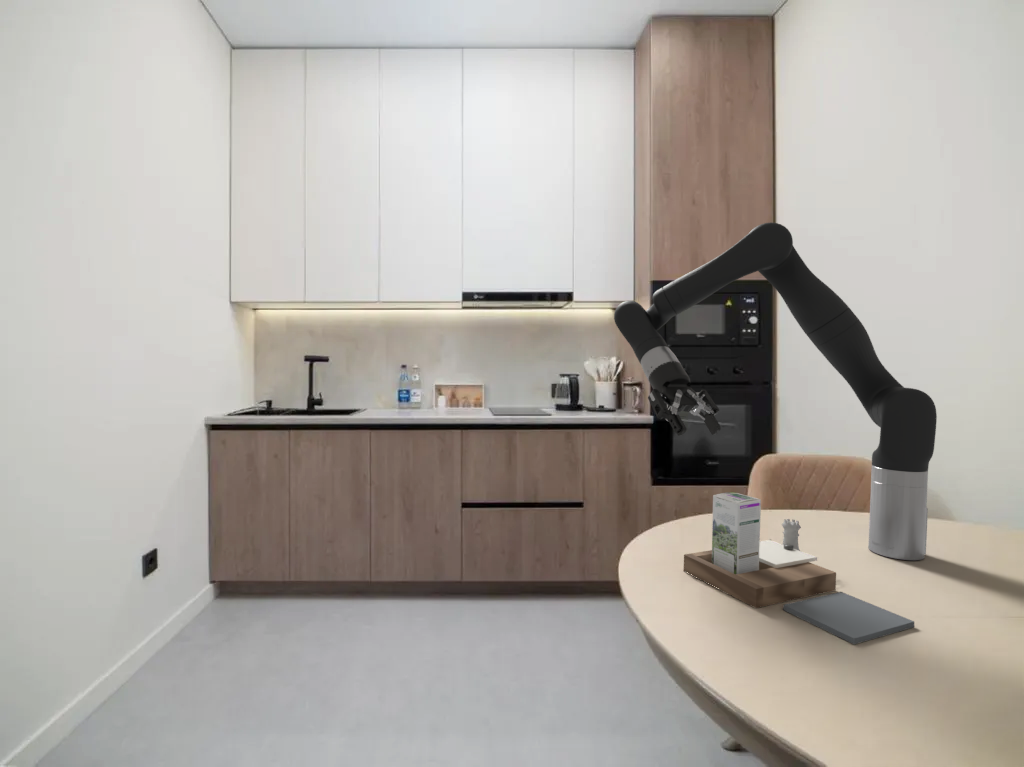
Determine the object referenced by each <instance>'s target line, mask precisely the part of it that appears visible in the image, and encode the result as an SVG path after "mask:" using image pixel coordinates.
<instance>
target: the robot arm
mask: <svg viewBox="0 0 1024 767" xmlns="http://www.w3.org/2000/svg"><path fill="white" fill-rule="evenodd" d="M793 244H794V241H793V236H792V233H791V231H789V229H788V228H787V227H786V226H785V225H783V224H780V223H778V222H777V223H776V222H770V221H769V222H764V223H761V224H758V225H756V226H755V227H753V228H752V229H751V230H750V231H749V232H748V234H746V235H744V237H742V238H741V239H740V240H739V241H738V242H736V243H735V244H733V246H731V247H729V249H727V250H725V251H724V252H722V253H721V254H719V255H717V256H716V257H714V258H713V259H711V260H710V261H708V262H706V263H704V264H702V265H700V266H699V267H697V268H695V269H694V270H693V269H692V270H691V271H690V272H688V273H686V274H683V275H682V276H680V277H677V278H676V279H674V280H672V281H671V282H669V283H668V284H666V285H664V286H663V287H661V288H658V289H657V290H656V291H654V293H653V294H652V296H651V297H652V304H651V305H650V306H649V308H647V309H645V308H644V307H643V306H642V305H641V304H640V303H639V302H637V301H634V300H626V301H625V300H624V301H623V302H621V303H619V304H618V306H616V308H615V309H614V310H615V311H614V314H613V320H614V323H615V325H616V328H617V329H618V330H619V332H620V333H621V335H622V336H623V338H624V339H625V340H626V342H627V343H628V345H630V346H631V349H632V351H633V352H634V354H635V357H636V358H637V360H638V362H639V364H640V366H641V369H642V371H643V373H644V375H645V377H646V378H647V381H648V383H649V385H650V386H651V387H652V389H653V390H651V392H650V393H649V395H648V396H647V399H648V401H649V404H650V405H651V407H652V410H653V413H654V414H655V416H656V418H657V419H659V420H662V419H664V420H666V421H667V422H669V425H670V426H671V428H672V429H673V432H675V433H676V435H677V436H684V434H685V433H686V432H687V430H688V429H687V427H686V424H685V423H684V421H683V419H682V418H681V416H680V415H679V414H677V413H681V412H685V413H690V414H691V415H693V416H694V417H695V416H697V417H699V418H700V419H702V420H703V423H704V425H705V426H706V427H707V429H708V430H709V433H710V434H711V435H713V436H715V435H717V434H718V433H719V432H720V431H721V425H720V423H719V421H718V420H717V417H715V416H716V415H717V414H718V413H719V412H720V409H719V407H718V405H717V404H716V403H715V401H714V399H712V397H711V395H710V394H709V393H708V391H707V390H706V389H701V390H700V391H697V392H696V391H695V390H694V389H693V388H692V387H691V378H690V376H689V375H688V373H687V372H686V370H685V368H684V367H683V365H682V363H681V362H680V361H679V358H677V355H675V353H674V352H673V351H672V350H671V349H670V347H669V345H668V344H667V342H666V340H665V339H664V338H663V336H662V335H661V334H660V333H659V332H658V331H659V330H660V329H661V328H663V326H665V325H666V324H667V323H668V322H669V321H670V320H671V319H672V318H673V317H675V316H677V315H679V314H681V313H683V312H685V311H686V310H688V309H691V308H692V307H694V306H695V305H697V304H699V303H700V302H702V301H704V300H705V299H707V298H708V297H710V296H712V295H713V294H714V293H716V292H718V291H719V290H722V288H724V287H726V286H727V285H729V284H731V283H733V282H736V281H737V280H739V279H741V278H744V277H746V276H749V275H751V274H754V273H756V272H758V273H760V274H761V276H763V277H764V279H765V280H766V281H768V283H769V284H770V285H771V286H772V287H773V288H774V289H775V291H777V292H778V294H779V295H780V297H781V298H782V300H783V302H784V303H785V304H786V307H787V308H788V310H789V311H790V313H791V315H792V316H793V317H794V319H795V321H796V322H797V324H798V326H799V327H800V328H801V329H802V331H803V332H804V334H805V335H806V336H807V337H808V338H809V340H810V341H811V342H812V344H813V345H814V346H815V348H817V350H818V351H819V352H820V353H821V354H822V356H823V357H825V359H826V360H827V362H828V363H829V364H830V366H832V367H833V368H834V369H835V370H836V371H837V372H838V374H840V375H841V377H842V378H843V379H844V380H845V381H846V382H847V384H848V385H849V386H850V388H851V390H852V391H853V392H854V394H855V396H856V397H857V398H858V400H859V402H860V403H861V405H862V406H863V409H864V410H865V411H866V413H867V414H868V416H869V418H870V419H871V421H872V422H873V423H874V424H875V425H876V426H877V427H879V428H880V433H879V443H878V446H877V448H876V449H874V451H873V452H872V454H871V474H870V475H871V477H870V501H869V522H868V523H869V524H868V526H869V527H868V547H867V548H868V549H869V551H870V552H873V553H875V554H878V555H881V556H883V557H887V558H891V559H896V560H897V559H898V560H904V561H921V560H923V559H925V555H927V538H928V537H927V536H928V519H929V518H928V516H929V515H928V514H929V511H928V510H929V508H928V507H927V506H928V505H927V504H928V503H927V502H928V484H929V482H928V479H929V465H930V461H931V459H932V458H933V454H934V451H935V444H936V433H937V418H938V416H937V414H938V413H937V408H936V405H935V402H934V401H933V399H932V397H930V395H929V394H928V393H926V392H925V391H922V390H920V389H917V388H911V387H904V386H903V385H902V384H901V383H900V382H899V381H898V380H897V379H896V378H895V377H894V376H893V375H892V373H890V372H889V370H888V369H887V368H886V367H885V365H883V364H882V362H881V361H880V359H879V357H878V354H877V353H876V350H875V348H874V345H873V342H872V340H871V337H870V336H869V333H868V331H867V329H866V328H865V326H864V324H863V323H862V322H861V320H860V319H859V318H858V316H857V315H856V314H855V312H854V311H853V310H852V309H851V308H850V307H849V305H848V304H847V303H846V302H845V301H844V300H843V299H842V298H841V297H840V296H839V295H838V294H837V292H835V291H834V290H833V289H832V288H830V287H829V286H828V285H827V284H826V283H825V282H823V281H822V280H821V279H820V278H818V276H816V275H815V274H814V273H813V272H812V271H811V270H810V268H809V267H808V266H807V264H806V263H805V262H804V260H803V258H802V257H801V256H800V254H799V252H798V251H797V250H796V248H795V246H794V245H793ZM696 404H698V407H696V408H695V406H696ZM701 410H703V411H704V412H703V411H701Z"/></svg>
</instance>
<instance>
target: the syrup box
mask: <svg viewBox="0 0 1024 767" xmlns="http://www.w3.org/2000/svg"><path fill="white" fill-rule="evenodd" d="M761 506H762V500H761V498H757V497H753V496H750V495H746V494H743V493H739V492H733V491H731V492H722V493H717V494H713V495H712V525H711V526H712V527H711V529H712V534H711V535H712V537H711V539H712V540H711V550H712V564H714V565H716V566H719V567H721V568H723V569H725V570H727V571H729V572H731V573H734V574H741V573H746V572H752V571H757V570H759V546H760V541H761V538H760V536H761Z"/></svg>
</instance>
